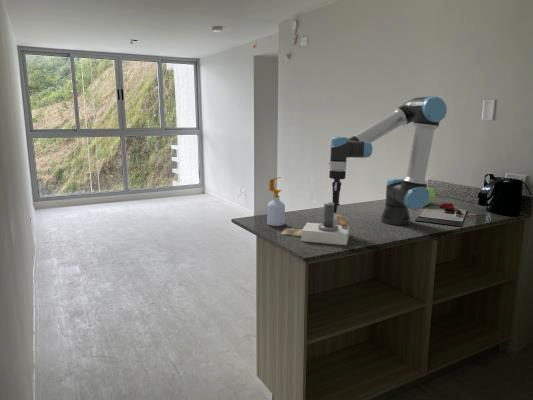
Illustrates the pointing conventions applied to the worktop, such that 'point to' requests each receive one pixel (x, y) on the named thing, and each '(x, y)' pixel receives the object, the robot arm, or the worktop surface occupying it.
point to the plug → (328, 218)
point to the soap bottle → (275, 208)
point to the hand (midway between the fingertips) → (334, 218)
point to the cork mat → (292, 232)
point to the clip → (342, 220)
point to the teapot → (431, 194)
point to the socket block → (325, 234)
